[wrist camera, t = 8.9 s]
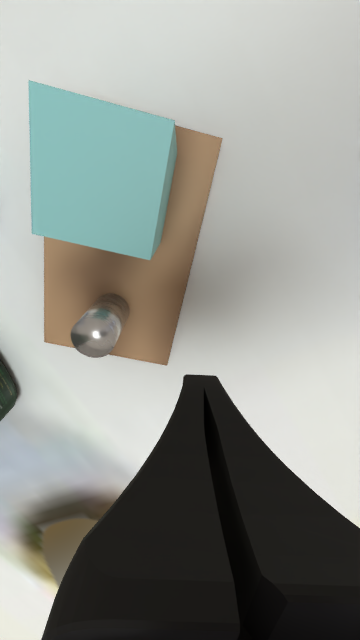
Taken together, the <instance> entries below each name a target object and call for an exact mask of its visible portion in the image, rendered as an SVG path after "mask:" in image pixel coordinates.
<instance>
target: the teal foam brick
mask: <svg viewBox="0 0 360 640" xmlns="http://www.w3.org/2000/svg"><path fill="white" fill-rule="evenodd" d="M29 124H30V169H31V215H32V234H36V235H40V236H44V237H49V238H53V239H58V240H62V241H67V242H71V243H75V244H80V245H84V246H89V247H93V248H98V249H102V250H106V251H111V252H115V253H120V254H124V255H129V256H133V257H138V258H142V259H146V260H151V258H152V257H153V255H154V253H155V251H156V250H157V248H158V246H159V245H160V243H161V238H162V232H163V227H164V222H165V216H166V211H167V205H168V200H169V195H170V189H171V184H172V178H173V173H174V168H175V162H176V157H177V143H176V131H175V120H171V119H167V118H164V117H160V116H156V115H153V114H149V113H146V112H142V111H138V110H135V109H131V108H127V107H124V106H120V105H117V104H113V103H109V102H106V101H102V100H99V99H95V98H91V97H88V96H84V95H80V94H77V93H73V92H70V91H66V90H62V89H59V88H55V87H51V86H48V85H44V84H41V83H37V82H33V81H30V80H29Z"/></svg>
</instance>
